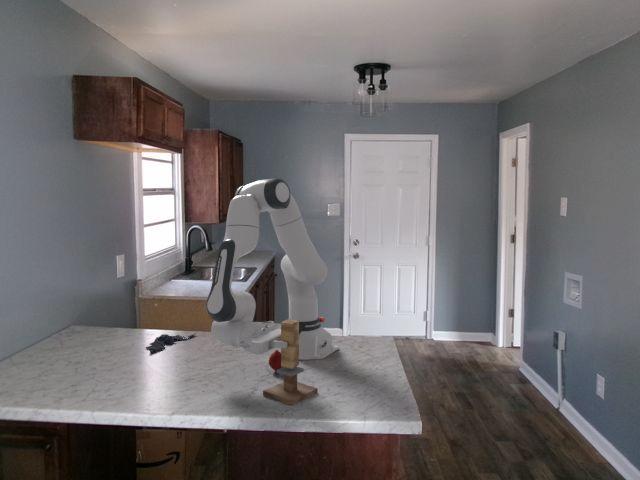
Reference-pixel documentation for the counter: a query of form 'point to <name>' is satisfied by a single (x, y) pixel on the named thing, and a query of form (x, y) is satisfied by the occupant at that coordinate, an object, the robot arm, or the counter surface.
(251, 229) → the robot arm
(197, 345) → the counter surface
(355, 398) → the counter surface
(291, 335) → the wooden rod
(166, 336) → the decorative bat
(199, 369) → the counter surface
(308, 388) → the pedestal
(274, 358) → the onion
